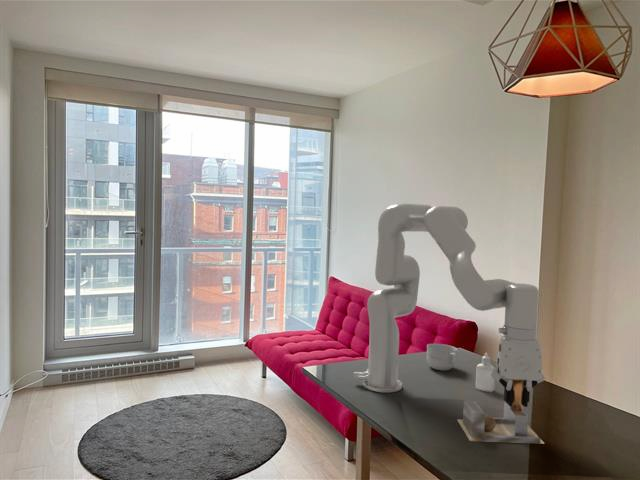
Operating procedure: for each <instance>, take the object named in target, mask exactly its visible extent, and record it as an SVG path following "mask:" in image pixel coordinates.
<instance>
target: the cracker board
mask: <svg viewBox="0 0 640 480" xmlns="http://www.w3.org/2000/svg"><path fill="white" fill-rule="evenodd" d="M485 415H486V413H485V412H484V411H483V409H482V408H481V406H480V405H479V404H478V403H477V401H476V400H463V412H462V419H456V420H457V422H458V424H459V425H460V427H461V429H462V430H463V432H464V434H465V435H466V437H467V438H468V440H469V442H489V443H491V442H492V443H512V444H513V443H516V444H517V443H518V444H538V445H539V444H540V445H541V444H543V445H544V444H545V442H544V441H543V440H542V438H540V437H539V436H538V434H537V433H536V432H535V431H534V430H533V429H532V428H531V427H530V426H529V425H528V430H527V437H524V436H513V435H512V433H511V432H510V431H509V430H508V428H507V427H506V426H505V425H504V424H503V418H504V417H496V416H495V417H493V416H492V417H493V418H494V419H495V422H496V426H495V428H494V429H493V430H492V431H485V430H484V426H485Z"/></svg>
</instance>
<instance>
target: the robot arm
mask: <svg viewBox="0 0 640 480" xmlns="http://www.w3.org/2000/svg"><path fill="white" fill-rule="evenodd" d="M468 220H469V219H468V215H467V214H466V212H465V211H464V210H463V209H461V208H460V207H457V206H449V205H448V206H447V205H446V206H444V205H432V204H431V205H430V204H418V203H417V204H415V203H397V204H396V203H395V204H392V205H390V206H388V207H386V208H385V209H384V210H383V211H382V212H381V214H380V216H379V218H378V223H377V234H378V238H377V242H378V243H377V249H376V259H375V260H376V261H375V269H374V273H375V274H374V275H375V280H376V282H377V283H378V284H380V285H382V286H387V287H388V286H393V287H390V288H384V289H377V290H375V291H374V292H372V293H371V294H370V295H369V296H368V299H367V304H366V305H367V313H368V321H369V334H368V336H369V341H368V342H369V345H368V367H367V368H366V370H365V371H363V372H360V371H354V372H353V378H354V379H357V380H358V381H362V385H363V387H364V388H365V389H367V390H369V391H371V392H376V393H377V392H378V393H382V394H383V393H385V394H386V393H395V392H398V391H399V392H400V391H401V390H402V388H403V382H401V380H399V379H398V376H399V371H398V370H399V354H400V353H399V352H400V351H399V350H400V349H399V348H400V331H399V330H400V329H399V327H398V322H397V321H396V318H399V317H403V316H404V317H405V316H408V315H410V314H412V313H413V312H414V310H415V309H416V306H417V303H418V294H419V285H420V276H421V275H420V274H421V272H420V270H421V269H420V265H419V263H418V261H417V260H416V259H415V257H413V256H412V255H407V254H405V248H406V242H405V238H404V235H403V233H404V232H423V233H425V232H427V233H429V235H430V236H431V237H432V239H433V241H435V243H436V245H437V246H438V247H439V248H440V250H441V252H442V253H443V255H445V257H446V258H447V260H448V262H449V270H450V274H451V280H452V281H453V284H454V286H455V287H456V289H457V291H458V292H459V293H460V294H461V296H462V297H463V299H464V300H465V301H466V303H467V304H469V306H471V307H472V308H473V309H474V310H477V311H481V312H483V311H490V310H495V309H502V308H504V323H503V326H502V327H499V328H498V333H499V334H502V335H501V338H500V340H499V344H498V350H497V354H496V363H495V366H494V368H495V369H494V371H493V372H492V374H491V377H492V378H493V379H494V380H495V381H496V382H497V383H498V382H499V384H501V386H503V389H504V390H503V391H504V392H503V400H504V402H506V403H507V404H508V405H509V406H512V405H513V391H512V388H511V387H512V381H513V380H524V388H523V406H522V407H525V408H527V407H528V403H529V402H530V393H531V392H532V390H533V389H534V387H535V386H537V385H538V384H540V383H542V382H544V381H545V379H546V377H545V376H544V374H543V358H542V357H543V356H542V347H541V346H542V345H541V342H540V339H537V330H538V329H537V328H538V315H539V314H538V312H539V311H538V310H539V293H540V292H539V288H538V287H537V286H535V285H532V284H527V283H516V282H513V281H509V280H505V279H502V278H501V279H500V278H495V279H486V280H484V279H483V277H482V276H481V274H480V273H479V272H478V271H477V269H476V268H475V266H474V264H473V261H472V254H473V253H474V251H475V250H476V246H477V245H476V242H475V241H474V239H473V238H472V237H471V236H470V234H469V233H468V231H466V229H467V228H468V225H469V223H468V222H469V221H468Z"/></svg>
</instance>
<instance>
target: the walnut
mask: <svg viewBox="0 0 640 480" xmlns="http://www.w3.org/2000/svg"><path fill="white" fill-rule="evenodd" d="M495 426H496V422H495V419H494V418H493V415H490V414H486V413H485V426H484V430H485V431H492V430H493V429H494V428H495Z"/></svg>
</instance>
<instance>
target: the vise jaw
mask: <svg viewBox="0 0 640 480" xmlns="http://www.w3.org/2000/svg"><path fill="white" fill-rule="evenodd" d="M511 388H512V391H513V405H512V406H509V405H508V404H507V403H506V401H504V403H503V417H502V418H503V424H504V425H505V426H506V427H507V428H508V430H509V431H510V432H511V433H512V435H513V436H524V437H527V430H528V426H529V424H528V423H529V415H528V414H527V413H526V412H525V410H523V407H524V406H523V388H524V380H513V381H512V387H511Z"/></svg>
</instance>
